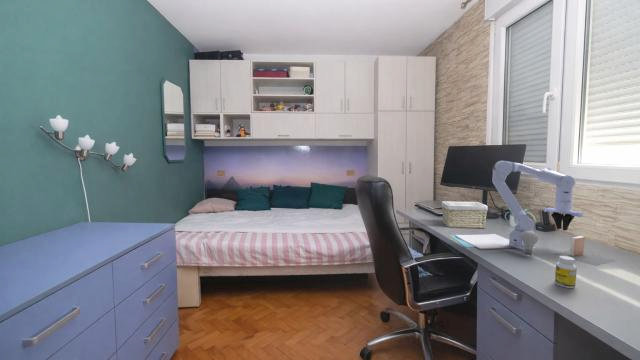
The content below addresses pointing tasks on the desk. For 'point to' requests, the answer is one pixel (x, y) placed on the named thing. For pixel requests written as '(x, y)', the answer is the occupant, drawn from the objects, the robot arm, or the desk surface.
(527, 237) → the lightbulb
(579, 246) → the tile
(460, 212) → the storage basket
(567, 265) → the supplement bottle
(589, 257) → the mat
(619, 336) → the desk surface
